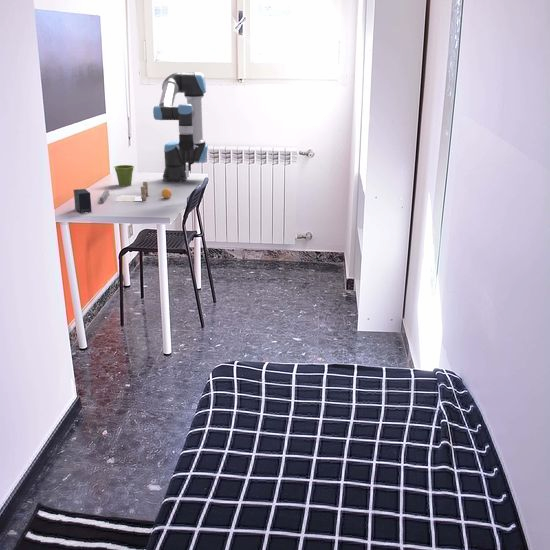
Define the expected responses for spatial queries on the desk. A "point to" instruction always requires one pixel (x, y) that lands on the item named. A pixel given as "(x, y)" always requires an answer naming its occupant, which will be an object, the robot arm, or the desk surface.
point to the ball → (166, 193)
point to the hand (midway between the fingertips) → (187, 176)
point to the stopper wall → (104, 196)
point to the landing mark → (126, 198)
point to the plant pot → (124, 174)
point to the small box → (82, 200)
